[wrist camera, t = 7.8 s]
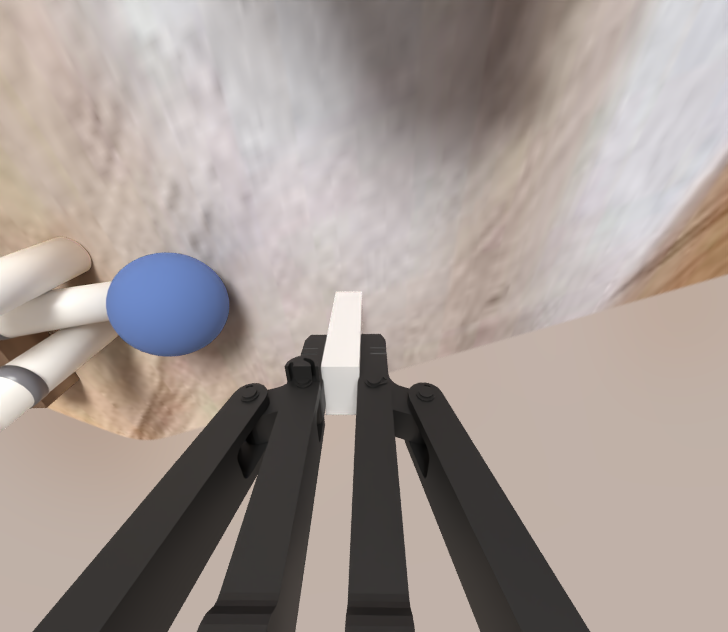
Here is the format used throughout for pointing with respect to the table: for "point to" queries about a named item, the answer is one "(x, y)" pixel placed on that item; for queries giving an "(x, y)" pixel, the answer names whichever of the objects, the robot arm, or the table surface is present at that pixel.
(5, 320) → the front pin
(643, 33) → the table surface
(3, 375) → the pin
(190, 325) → the ball
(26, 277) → the pin
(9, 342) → the back wall
